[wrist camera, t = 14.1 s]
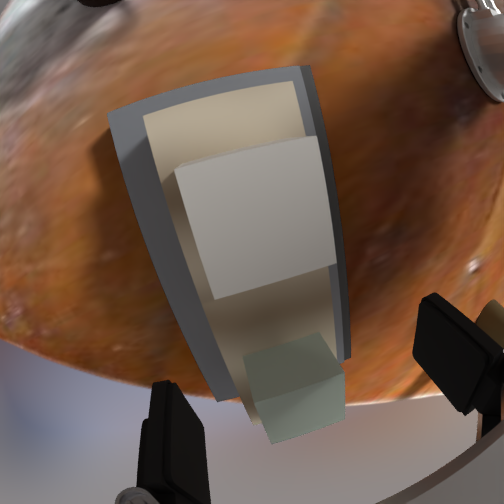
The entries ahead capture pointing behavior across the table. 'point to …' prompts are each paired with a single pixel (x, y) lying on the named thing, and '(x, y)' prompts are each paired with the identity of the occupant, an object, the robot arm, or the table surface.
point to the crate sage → (296, 387)
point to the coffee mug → (97, 2)
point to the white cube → (259, 213)
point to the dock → (163, 231)
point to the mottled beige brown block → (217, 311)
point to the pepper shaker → (493, 321)
